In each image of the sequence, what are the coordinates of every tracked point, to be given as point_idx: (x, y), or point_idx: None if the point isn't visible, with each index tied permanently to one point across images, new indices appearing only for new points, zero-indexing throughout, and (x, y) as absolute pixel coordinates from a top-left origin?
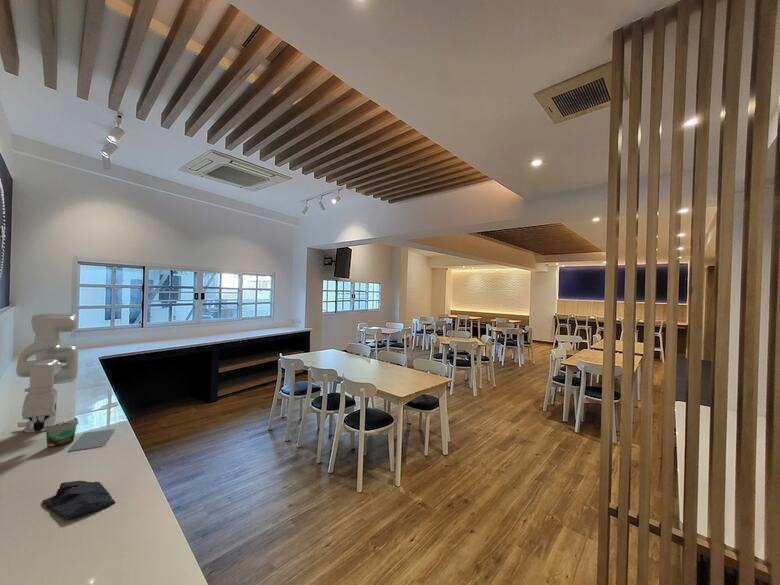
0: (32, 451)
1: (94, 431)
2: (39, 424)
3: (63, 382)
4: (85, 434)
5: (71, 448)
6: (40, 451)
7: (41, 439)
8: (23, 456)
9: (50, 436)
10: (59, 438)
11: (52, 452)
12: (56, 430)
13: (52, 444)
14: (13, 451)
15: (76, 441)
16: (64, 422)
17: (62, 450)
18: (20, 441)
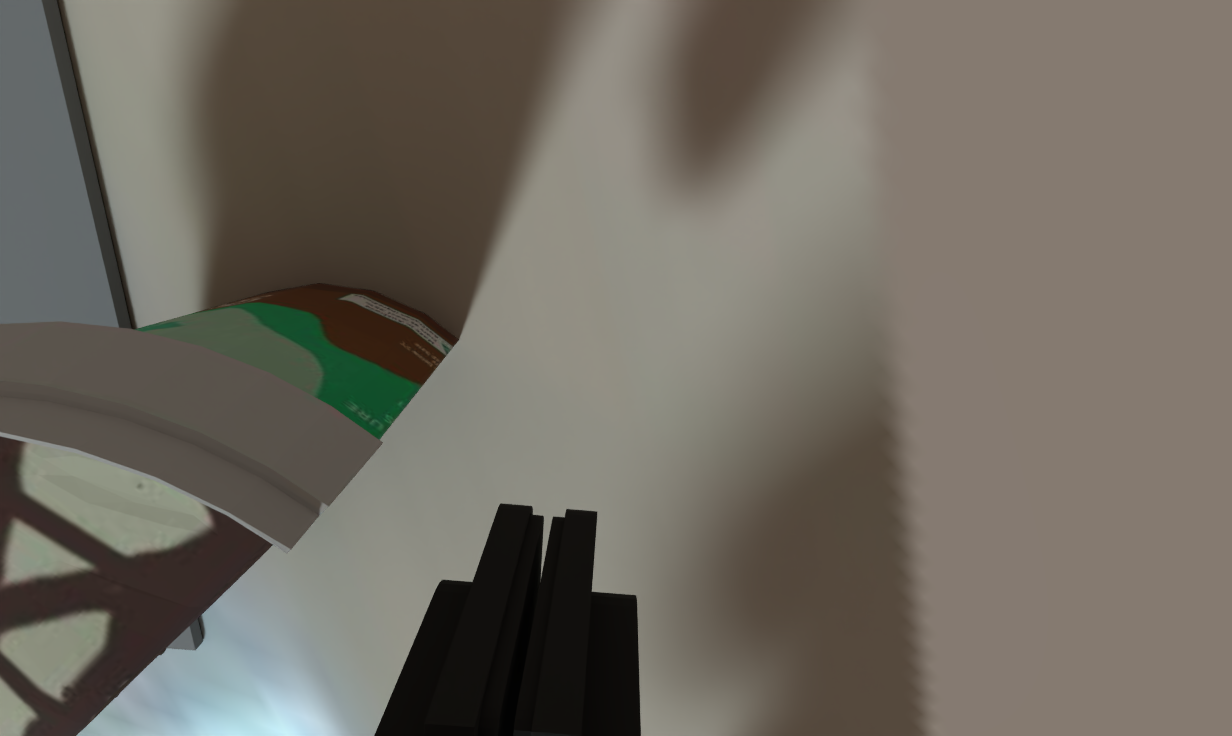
0: (601, 265)
1: None
2: (461, 660)
3: None
4: None
5: (24, 28)
6: (493, 202)
7: None
8: (667, 88)
9: (321, 353)
10: (208, 314)
11: (294, 39)
12: (57, 324)
13: (362, 304)
14: (826, 398)
15: None
16: (24, 722)
17: (172, 59)
18: (806, 698)
